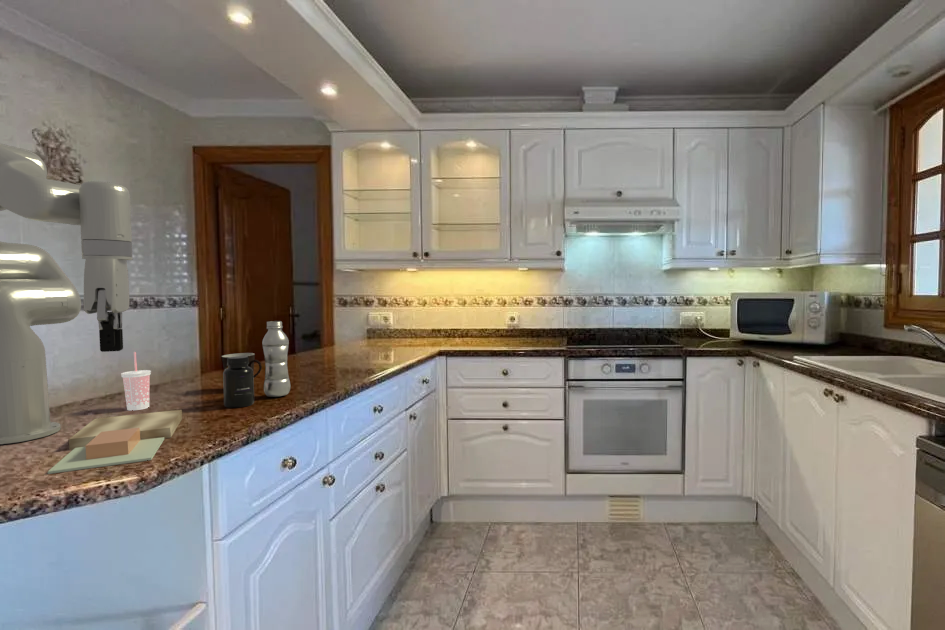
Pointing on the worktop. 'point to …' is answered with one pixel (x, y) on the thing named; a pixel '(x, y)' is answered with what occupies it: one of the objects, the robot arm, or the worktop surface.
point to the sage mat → (78, 457)
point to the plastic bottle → (276, 360)
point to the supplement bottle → (238, 383)
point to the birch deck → (130, 426)
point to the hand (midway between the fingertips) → (111, 350)
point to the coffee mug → (249, 355)
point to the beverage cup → (136, 388)
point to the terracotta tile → (113, 443)
